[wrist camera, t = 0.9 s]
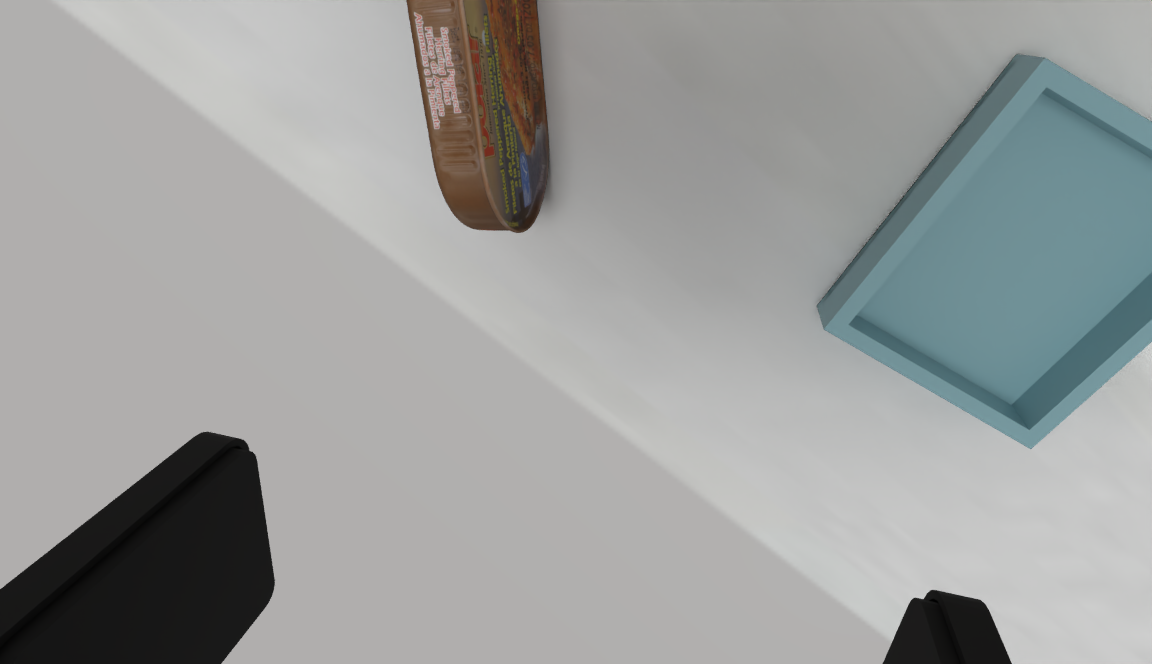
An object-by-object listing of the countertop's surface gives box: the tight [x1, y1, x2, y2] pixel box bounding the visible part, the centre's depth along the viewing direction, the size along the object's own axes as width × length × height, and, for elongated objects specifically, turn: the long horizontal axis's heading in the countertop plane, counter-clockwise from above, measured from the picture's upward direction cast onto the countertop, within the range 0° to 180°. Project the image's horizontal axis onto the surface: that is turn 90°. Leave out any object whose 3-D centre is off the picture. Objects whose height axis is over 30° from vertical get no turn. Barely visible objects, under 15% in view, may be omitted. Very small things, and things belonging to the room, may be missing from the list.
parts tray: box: [817, 54, 1152, 449], centre depth 31 cm, size 14×12×3 cm
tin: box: [406, 0, 549, 233], centre depth 30 cm, size 15×3×8 cm, turn 4°
